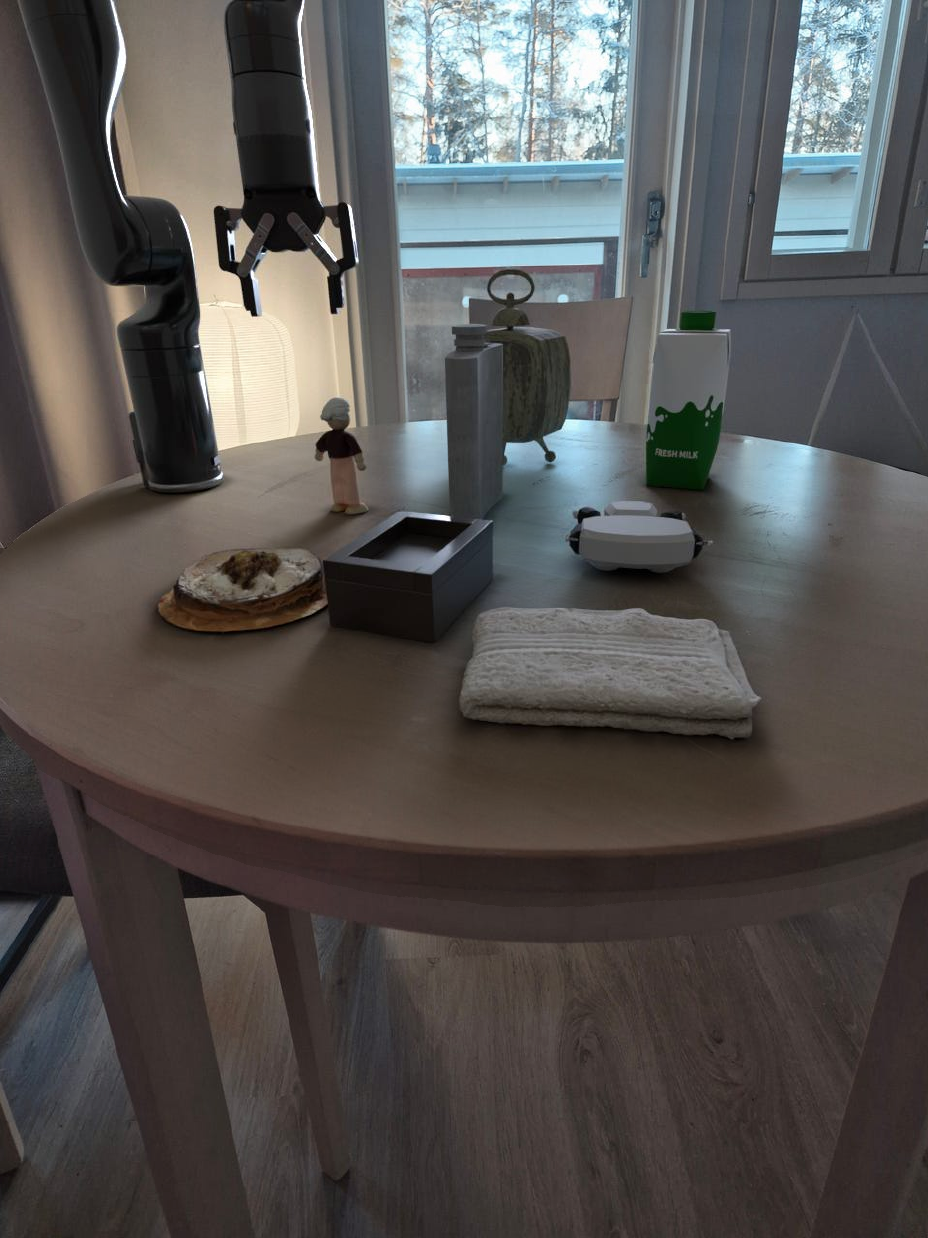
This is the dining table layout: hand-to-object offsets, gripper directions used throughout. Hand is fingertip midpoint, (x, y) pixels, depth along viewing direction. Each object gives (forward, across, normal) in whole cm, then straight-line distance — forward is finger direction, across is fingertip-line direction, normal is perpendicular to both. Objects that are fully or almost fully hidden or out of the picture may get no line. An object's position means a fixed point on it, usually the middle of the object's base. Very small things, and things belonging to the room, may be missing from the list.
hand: (295, 315), depth 78 cm
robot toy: (+21, -33, +21) cm, 45 cm away
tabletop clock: (+21, -24, -18) cm, 37 cm away
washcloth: (+21, -26, +44) cm, 55 cm away
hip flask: (+21, -19, +6) cm, 29 cm away
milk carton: (+21, -45, -6) cm, 50 cm away
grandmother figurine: (+21, -4, +3) cm, 22 cm away
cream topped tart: (+21, +1, +28) cm, 35 cm away
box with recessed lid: (+21, -13, +30) cm, 39 cm away
